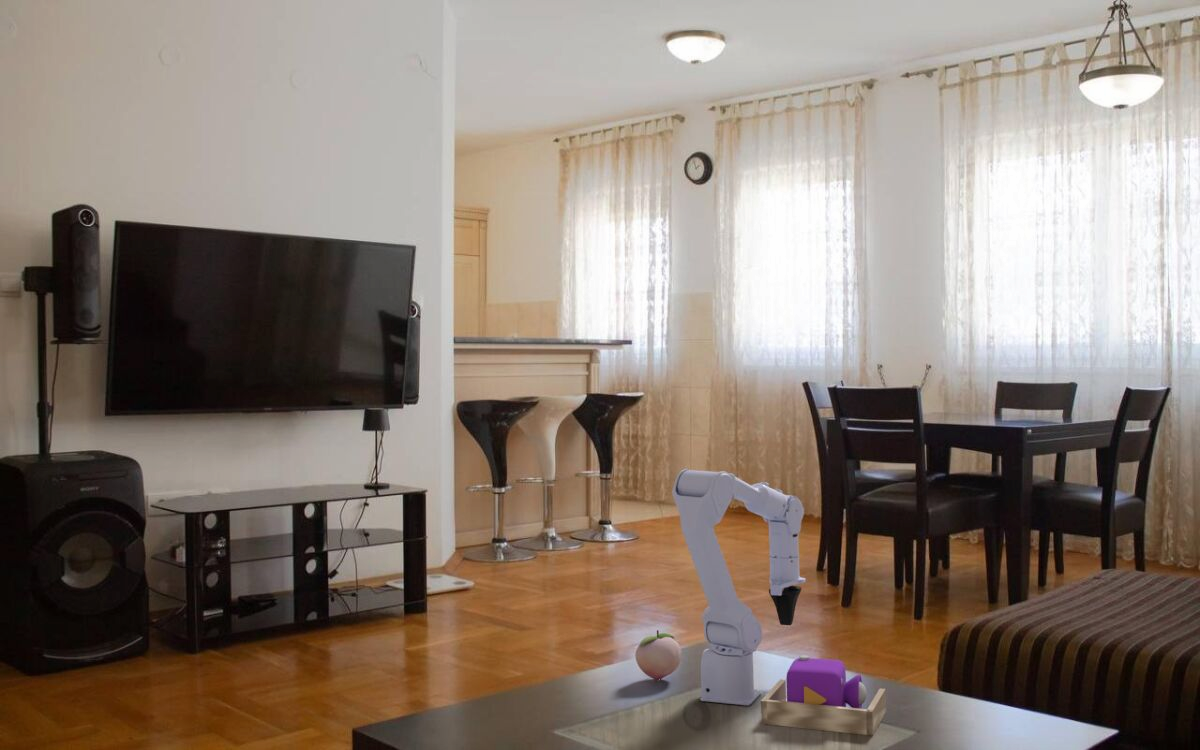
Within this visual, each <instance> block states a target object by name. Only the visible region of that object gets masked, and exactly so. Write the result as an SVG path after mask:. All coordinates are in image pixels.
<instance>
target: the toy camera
mask: <svg viewBox="0 0 1200 750" xmlns="http://www.w3.org/2000/svg"><path fill="white" fill-rule="evenodd" d="M846 672H847V671H846V666H845V664H844V662H843V661H841V660H838V659H829V658H813V657H812V658H811V657H810V656H809V655H807V654H802V655H801V654H800V655H799V657H798V658H796V659H794V660H793V661H792V663H791V665H790V666H789V668H788V670H787V672H786V679H785V680H786V701H788V702H798V703H808V704H818V705H828V706H839V707H847V705H848V706H849V708H859V709H863V708H862V707H863V703H865V701H866V700H867V689H866V686H865V685H864V684H863V680H862V676H861V674H857V675H855V676H853V677H852V678H850V679H849V680H848V681H847V674H846Z"/></svg>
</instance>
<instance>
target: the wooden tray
mask: <svg viewBox="0 0 1200 750" xmlns="http://www.w3.org/2000/svg"><path fill="white" fill-rule="evenodd" d="M886 692H887V691H886V688H879V689H878V690H877V692H876V694H875V695H874V697H873V698H872V701H871V702H870V704H869V706H868V707H867V708H861V709H859V708H852V707H850V706H849V707H847V706H846V707H839V706H828V705H818V704H808V703H798V702H788V701H787V684H786V679H779V680H778V681H777V682H776V683H775V685H774V686H772V688H771V689H770V690H769V691H768V693H767V694H766V695H764V697H763V698H762V699H761V700H760V706H761V707H760V709H761V710H760V713H761V724H762V725H772V726H779V727H780V726H782V727H791V728H798V729H799V728H800V729H809V730H818V731H824V732H825V731H826V732H827V731H828V732H835V733H836V732H837V733H846V734H854V735H855V734H856V735H863V736H874V735H875V732H876V731H877V729H878V727H879V725H880V724H881V721H882V720H883V718H884V717H885V714H886V712H887V703H886V702H887V700H886V699H887V698H886V697H887V696H886V694H887V693H886Z"/></svg>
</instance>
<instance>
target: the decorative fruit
mask: <svg viewBox="0 0 1200 750" xmlns="http://www.w3.org/2000/svg"><path fill="white" fill-rule="evenodd" d="M659 632H660V631H659V629H658V630H656V635H654V636H653V635H652V636H646V637H644V638H643V639H642V640H641V641H640V643H639V645H638V646H637V648H636V651H635V654H634V655H635V661H636V664H637V666H638V667H639V669H640V670H641V671H642V672H643V673H644V675H646V676H648V677H649V678H651V679H653V680H655V681H657V680H659V679H663V678H666V677H667V676H669V675H671V674H672V673H674V672H675V671H676V670H677V669H678V667H679V666H680V663H681V659H682V650H681V647H680V645H679V643H678V642H677V641H676V640H674V639H675V637H674V636H673V634H671V633H665V632H662V633H659Z"/></svg>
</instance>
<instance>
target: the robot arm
mask: <svg viewBox="0 0 1200 750" xmlns="http://www.w3.org/2000/svg"><path fill="white" fill-rule="evenodd" d="M769 486H770V483H768V482H766V481H759V483H754V484H749V483H747V482H746V481H744V480H742V479H740V478H739V477H736V475H735V474H734V473H729V472H727V471H724V470H723V471H708V470H696V469H695V470H693V469H690V468H684V469H682V470H680V471H679V472H678V474H677V475H676V478H675V480H674V484H673V487H672V491H671V495H672V497H673V500H674V503H675V505H676V508H677V512H678V514H679V521H680V529H681V532H682V535H683V538H684V541H685V543H686V546H687V549H688V551H689V555H690V557H691V560H692V562H693V565H694V568H695V571H696V574H697V577H698V580H699V582H700V584H701V587H702V590H703V591H702V592H703V593H704V597H705V600H706V601H707V605H708V606H707V607H706V608H705V609H704V611H703V613H702V615H701V619H702V622H703V636H704V639H705V640H706V642H707V644H708V645H710V648H705V649H704V650H703V652H702V656H701V660H700V684H701V685H700V686H701V687H700V689H701V697H700V701H701V702H709V703H710V702H711V703H718V704H719V703H721V704H729V705H740V706H750V705H752V703H754V702H755V700H756V699H757V698H758V697H759V696H760V695H761V694H762V693H761V692H762V691H761V690H759V689H757V690H755V685H754V682H755V681H754V678H755V677H754V653H755V652H756V651H757V649H758V648H759V647H760V644H761V641H762V638H763V629H762V625H761V622H760V620H758V618H756V617H755V614H754V613H753V609H751V608H750V607H749V606H748V605H747V604H746V603H744V602H743V601H741V600H740V598H738V595H737V592H736V589H735V585H734V583H733V580H732V577H731V574H730V571H729V569H728V567H727V564H726V560H725V558H724V554H723V552H722V549H721V546H720V543H719V540H718V537H717V535H716V532H715V529H714V528H715V527H714V526H716V525H717V524H719V523H720V522H722V519H723V517H724V516H725V513H726V511H727V509H728V507H729V505H730V504H731V501H732V499H733V500H734V499H735V500H738V501H739V502H742V503H743V504H744V507H745V508H746V510H747V511H749V512H750V513H753V514H754V515H758V516H760V517H762V519H763V521H764V522H765V523H768V541H769V542H768V545H769V547H768V548H769V578H768V580H769V581H768V582H769V584H770V586H769V587H770V588H769V589H768V594H769V596H770V597H771V600H772V601H773V604H774V606H775V610H776V612H777V613H776V615H777V617H778V621H779V624H780V626H792V625H793V622H794V617H795V611H796V606H797V601H798V599H799V596H800V594H801V592H802V587H801V586H797V585H798V584H805V583H806V581H807V580H806V578H805V577H801V576H800V549H799V548H800V547H799V544H800V543H799V533H801V530H802V521H803V518H804V516H805V508H804V506H803V503H802V501H801V500H800V499H799V498H798V497H797V496H796V495H790V494H789V495H788V494H785V493H783V490H781V489H776V488H775V489H774V488H771V487H769Z"/></svg>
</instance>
